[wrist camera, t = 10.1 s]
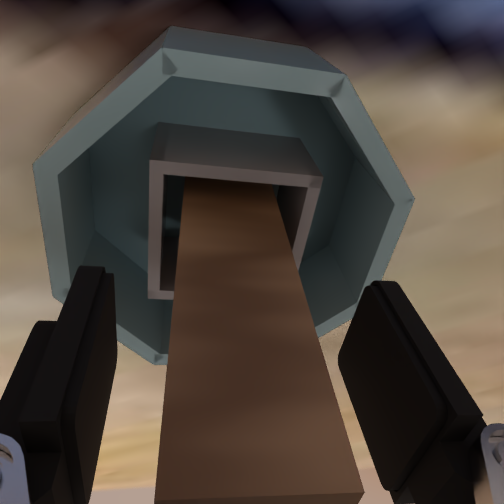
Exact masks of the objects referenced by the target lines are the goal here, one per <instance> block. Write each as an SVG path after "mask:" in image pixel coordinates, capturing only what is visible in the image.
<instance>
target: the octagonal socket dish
mask: <svg viewBox="0 0 504 504" xmlns="http://www.w3.org/2000/svg"><path fill="white" fill-rule="evenodd" d="M33 172H34V178H35V185H36V191H37V198H38V204H39V211H40V217H41V224H42V230H43V237H44V243H45V250H46V256H47V263H48V269H49V275H50V282H51V288H52V295H53V296H54V298H55V299H57V300H58V301H60V302H61V303H63V304H64V302H65V300H66V297H67V294H68V292H69V289H70V287H71V284H72V282H73V279H74V276H75V274H76V271H77V269H78V267H79V266H80V265H82V266H102V267H105V269H106V273H113V274H114V284H115V306H116V329H117V340H118V341H119V342H120V343H122V344H123V345H125V346H126V347H128V348H129V349H131V350H132V351H134V352H135V353H137V354H138V355H140V356H141V357H143V358H144V359H146V360H147V361H149V362H150V363H152V364H154V365H167V362H168V351H169V341H170V330H171V320H172V309H173V299H174V288H175V278H176V267H177V257H178V246H179V236H180V225H181V215H182V204H183V193H184V183H185V176H189V177H200V178H211V179H222V180H233V181H244V182H254V183H265V184H272V187H273V190H274V194H275V197H276V200H277V203H278V207H279V210H280V213H281V217H282V220H283V223H284V227H285V230H286V233H287V237H288V240H289V243H290V247H291V250H292V253H293V257H294V260H295V263H296V267H297V270H298V273H299V276H300V280H301V283H302V286H303V290H304V293H305V296H306V300H307V303H308V306H309V310H310V313H311V316H312V320H313V323H314V326H315V330H316V333H317V336H318V338H319V337H321V336H323V335H324V334H326V333H328V332H330V331H331V330H333V329H335V328H337V327H338V326H340V325H342V324H344V323H345V322H347V321H349V320H351V319H352V318H353V316H354V313H355V311H356V308H357V306H358V303H359V300H360V298H361V295H362V293H363V290H364V288H365V287H366V286H368V285H370V284H371V283H372V282H373V281H375V280H379V281H381V280H382V278H383V275H384V273H385V270H386V268H387V265H388V263H389V261H390V258H391V256H392V253H393V251H394V249H395V246H396V244H397V241H398V239H399V237H400V234H401V232H402V229H403V227H404V224H405V222H406V220H407V217H408V215H409V212H410V210H411V208H412V205H413V203H414V200H415V198H414V196H413V194H412V193H411V191H410V189H409V187H408V185H407V184H406V182H405V180H404V178H403V176H402V174H401V173H400V171H399V169H398V167H397V165H396V164H395V162H394V160H393V158H392V156H391V155H390V153H389V151H388V149H387V147H386V146H385V144H384V142H383V140H382V138H381V137H380V135H379V133H378V131H377V129H376V127H375V126H374V124H373V122H372V120H371V118H370V117H369V115H368V113H367V111H366V109H365V108H364V106H363V104H362V102H361V100H360V99H359V97H358V95H357V93H356V91H355V90H354V88H353V86H352V84H351V82H350V80H349V79H348V77H347V75H346V74H344V73H343V72H341V71H340V70H339V69H337V68H336V67H334V66H333V65H331V64H330V63H329V62H327V61H326V60H324V59H323V58H321V57H320V56H319V55H317V54H316V53H314V52H313V51H311V50H310V49H309V48H307V47H304V46H298V45H291V44H285V43H278V42H272V41H266V40H259V39H253V38H247V37H240V36H234V35H227V34H221V33H215V32H208V31H202V30H195V29H189V28H183V27H176V26H170V27H169V28H168V29H166V30H165V31H164V32H163V33H162V34H161V35H160V36H159V37H158V38H157V39H155V40H154V41H153V42H152V43H151V44H150V45H149V46H148V47H147V48H146V49H145V50H143V51H142V52H141V53H140V54H139V55H138V56H137V57H136V58H135V59H134V60H132V61H131V62H130V63H129V64H128V65H127V66H126V67H125V68H124V69H123V70H122V71H120V72H119V73H118V74H117V75H116V76H115V77H114V78H113V79H112V80H111V81H109V82H108V83H107V84H106V85H105V86H104V87H103V88H102V89H101V90H100V91H99V92H97V93H96V94H95V95H94V96H93V97H92V98H91V99H90V100H89V101H88V102H87V103H85V104H84V105H83V106H82V107H81V108H80V109H79V110H78V111H77V112H76V113H74V114H73V116H72V117H71V118H70V119H69V120H68V122H67V123H66V124H65V125H64V127H63V128H62V129H61V130H60V131H59V133H58V134H57V135H56V136H55V137H54V139H53V140H52V141H51V142H50V143H49V145H48V146H47V147H46V148H45V150H44V151H43V152H42V153H41V154H40V156H39V157H38V158H37V159H36V160H35V162H34V163H33Z"/></svg>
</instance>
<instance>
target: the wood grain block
mask: <svg viewBox="0 0 504 504" xmlns="http://www.w3.org/2000/svg"><path fill="white" fill-rule="evenodd" d="M363 494H364V489H363V485H362V482H361V479H360V475H359V472H358V469H357V466H356V462H355V459H354V456H353V452H352V449H351V446H350V442H349V439H348V436H347V432H346V429H345V426H344V422H343V419H342V416H341V412H340V409H339V406H338V403H337V399H336V396H335V393H334V389H333V386H332V383H331V379H330V376H329V373H328V369H327V366H326V363H325V359H324V356H323V353H322V349H321V346H320V343H319V339H318V336H317V333H316V330H315V326H314V323H313V320H312V316H311V313H310V310H309V306H308V303H307V300H306V296H305V293H304V290H303V286H302V283H301V280H300V276H299V273H298V270H297V267H296V263H295V260H294V257H293V253H292V250H291V247H290V243H289V240H288V237H287V233H286V230H285V227H284V223H283V220H282V217H281V213H280V210H279V207H278V203H277V200H276V197H275V194H274V190H273V187H272V184H265V183H254V182H244V181H233V180H222V179H211V178H200V177H189V176H185V183H184V193H183V204H182V215H181V225H180V236H179V246H178V257H177V267H176V278H175V288H174V299H173V309H172V320H171V330H170V341H169V351H168V362H167V372H166V383H165V393H164V404H163V414H162V425H161V435H160V446H159V456H158V467H157V478H156V488H155V499H154V504H358V503H359V501H360V499H361V498H362V496H363Z"/></svg>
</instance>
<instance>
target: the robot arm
mask: <svg viewBox="0 0 504 504" xmlns="http://www.w3.org/2000/svg"><path fill="white" fill-rule="evenodd" d="M116 363H117V329H116V306H115V284H114V274H113V273H106V269H105V267H102V266H82V265H80V266H79V267H78V269H77V271H76V274H75V276H74V279H73V282H72V284H71V287H70V289H69V292H68V294H67V297H66V300H65V302H64V305H63V307H62V310H61V312H60V315H59V318H58V320H57V321H38V322H36V323H35V325H34V327H33V329H32V331H31V333H30V335H29V337H28V340H27V342H26V344H25V346H24V348H23V351H22V353H21V355H20V357H19V360H18V362H17V364H16V366H15V369H14V371H13V373H12V375H11V377H10V380H9V382H8V384H7V386H6V389H5V391H4V393H3V395H2V398H1V400H0V504H88V503H89V500H90V496H91V491H92V486H93V481H94V476H95V471H96V466H97V460H98V455H99V450H100V445H101V440H102V435H103V430H104V425H105V420H106V415H107V410H108V404H109V399H110V394H111V389H112V384H113V379H114V374H115V369H116ZM338 366H339V369H340V372H341V375H342V377H343V380H344V383H345V386H346V388H347V391H348V394H349V397H350V399H351V402H352V405H353V408H354V410H355V413H356V416H357V419H358V421H359V424H360V427H361V430H362V432H363V435H364V438H365V441H366V444H367V446H368V449H369V452H370V455H371V457H372V460H373V463H374V466H375V468H376V471H377V474H378V477H379V479H380V482H381V484H382V486H383V488H384V489H385V490H388V491H390V494H391V497H392V499H393V502H394V504H414V503H415V504H504V424H501V423H496V424H490V425H488V426H487V425H486V423H485V422H484V420H483V418H482V416H483V414H482V412H481V411H480V409H479V408H478V406H477V404H476V403H475V401H474V400H473V398H472V397H471V395H470V394H469V392H468V391H467V389H466V387H465V386H464V384H463V383H462V381H461V380H460V378H459V377H458V375H457V374H456V372H455V370H454V369H453V367H452V366H451V364H450V363H449V361H448V360H447V358H446V357H445V355H444V353H443V352H442V350H441V349H440V347H439V346H438V344H437V343H436V341H435V340H434V338H433V336H432V335H431V333H430V332H429V330H428V329H427V327H426V326H425V324H424V323H423V321H422V319H421V318H420V316H419V315H418V313H417V312H416V310H415V309H414V307H413V306H412V304H411V302H410V301H409V299H408V298H407V296H406V295H405V293H404V292H403V290H402V289H401V287H400V285H399V284H398V283H397V282H395V281H379V280H375V281H373V282H372V283H371V284H370V285H368V286H366V287H365V288H364V290H363V293H362V295H361V298H360V300H359V303H358V306H357V308H356V311H355V313H354V316H353V318H352V321H351V324H350V326H349V329H348V331H347V334H346V336H345V339H344V341H343V344H342V347H341V349H340V352H339V355H338Z"/></svg>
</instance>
